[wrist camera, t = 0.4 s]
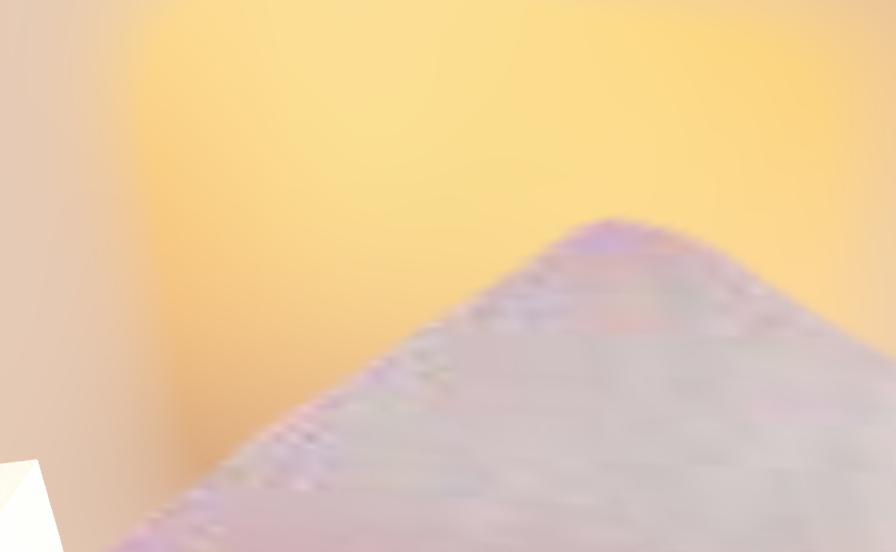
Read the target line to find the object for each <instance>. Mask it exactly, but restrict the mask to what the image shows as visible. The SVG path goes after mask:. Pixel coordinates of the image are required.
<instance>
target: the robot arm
mask: <svg viewBox="0 0 896 552" xmlns="http://www.w3.org/2000/svg"><path fill="white" fill-rule="evenodd" d="M0 552H63V548H62V545H61V541H60V537H59V534H58V530H57V527H56V523H55V520H54V517H53V513H52V510H51V506H50V502H49V499H48V495H47V492H46V488H45V485H44V481H43V478H42V475H41V471H40V467H39V464H38V460H29V461H21V462H12V463H4V464H0Z"/></svg>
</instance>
